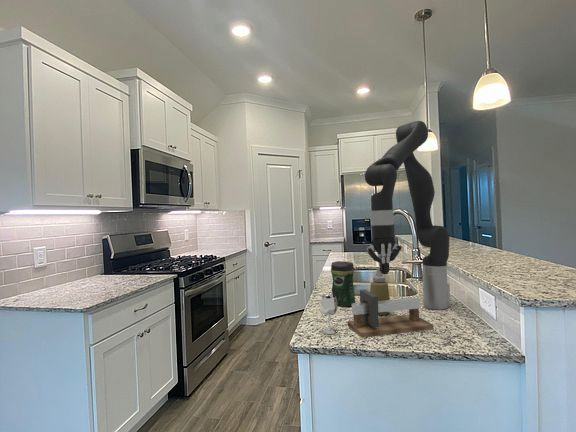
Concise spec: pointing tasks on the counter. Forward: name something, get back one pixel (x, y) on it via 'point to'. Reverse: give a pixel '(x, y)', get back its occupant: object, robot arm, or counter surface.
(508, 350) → the counter surface
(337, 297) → the coffee jar
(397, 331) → the board
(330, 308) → the wineglass
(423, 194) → the robot arm
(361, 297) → the dark grey flat piece
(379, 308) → the grey square bar
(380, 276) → the squeeze bottle
